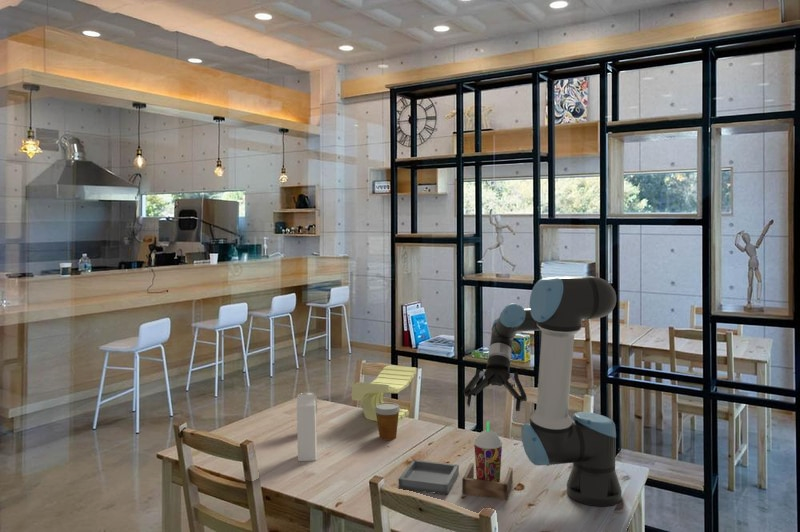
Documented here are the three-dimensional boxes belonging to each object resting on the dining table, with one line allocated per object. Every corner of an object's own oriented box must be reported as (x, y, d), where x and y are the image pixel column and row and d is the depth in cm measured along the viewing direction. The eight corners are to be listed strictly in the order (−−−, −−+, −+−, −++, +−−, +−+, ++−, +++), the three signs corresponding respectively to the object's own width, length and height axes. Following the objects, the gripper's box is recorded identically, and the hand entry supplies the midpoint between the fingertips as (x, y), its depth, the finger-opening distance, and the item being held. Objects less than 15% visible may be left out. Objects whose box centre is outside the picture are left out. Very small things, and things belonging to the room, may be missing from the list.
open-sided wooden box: (512, 482, 175) (512, 467, 175) (507, 499, 164) (507, 484, 164) (470, 477, 179) (470, 462, 179) (462, 493, 168) (462, 478, 168)
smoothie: (502, 494, 167) (501, 427, 166) (473, 492, 169) (472, 425, 168) (502, 482, 175) (502, 418, 174) (475, 480, 177) (474, 416, 176)
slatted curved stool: (383, 404, 256) (382, 364, 255) (416, 407, 250) (415, 367, 249) (352, 425, 229) (351, 381, 228) (389, 430, 223) (388, 384, 222)
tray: (458, 474, 182) (458, 464, 181) (447, 495, 167) (447, 485, 167) (413, 468, 186) (413, 459, 186) (398, 488, 172) (398, 478, 172)
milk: (315, 460, 194) (314, 396, 192) (297, 461, 193) (296, 397, 192) (316, 453, 200) (315, 391, 198) (299, 454, 199) (297, 392, 198)
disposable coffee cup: (405, 438, 214) (405, 406, 213) (383, 443, 208) (383, 411, 208) (391, 431, 222) (390, 400, 221) (370, 436, 216) (369, 405, 215)
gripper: (537, 368, 192) (533, 426, 179) (464, 363, 200) (454, 419, 186) (536, 355, 186) (531, 415, 173) (460, 351, 194) (451, 408, 181)
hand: (491, 417), depth 180 cm, fingers open, 13 cm apart
